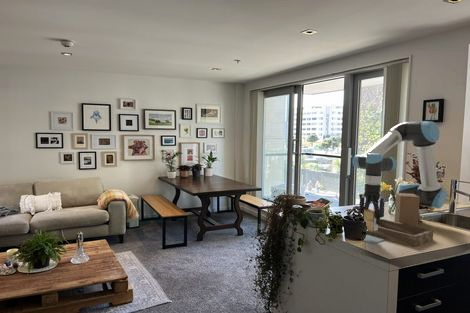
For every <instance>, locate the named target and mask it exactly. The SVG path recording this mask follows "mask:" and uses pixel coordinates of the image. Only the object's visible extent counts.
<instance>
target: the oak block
mask: <svg viewBox="0 0 470 313" xmlns="http://www.w3.org/2000/svg"><path fill="white" fill-rule="evenodd" d="M375 217H376V216H375V210H374V208H368V209H365V210H364V221H365V222H366V226H367V229H366V230H369V231H374V218H375ZM364 221H363V222H364Z"/></svg>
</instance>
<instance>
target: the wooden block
mask: <svg viewBox="0 0 470 313" xmlns="http://www.w3.org/2000/svg"><path fill="white" fill-rule="evenodd" d="M419 200H420V197H419V196H417V195H415V194H406V193H399V192H397V193H396V194H395V205H394V206H395V207H394V222H398V223H402V224H407V225H411V226H415V227H419V222H418V217H419V212H420V205H419Z"/></svg>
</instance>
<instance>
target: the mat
mask: <svg viewBox="0 0 470 313" xmlns="http://www.w3.org/2000/svg"><path fill="white" fill-rule="evenodd" d="M366 235H367V236H366V239H364V240H363V241H362V242H366V243H369V244H371V245H375V244H378V243H381V242H385V238H381V237H378V236H374V235H371V234H366Z"/></svg>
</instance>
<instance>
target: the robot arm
mask: <svg viewBox="0 0 470 313" xmlns="http://www.w3.org/2000/svg"><path fill="white" fill-rule="evenodd" d="M440 134H441V133H440V128H439V126H438V125H437V123H435V122H434V121H430V120H429V121H428V120H419V121H410V120H409V121H404V122H401V123H398V124H397V125H394V126H393V127H391V128H390V129H388V131H387V132H386V134H385V135H384V136H383V137H382V138H380V140H378V141H377V142H376V143H375V144H373V145H372V146H371V147H370V148H368V149H367V150H366V151H365V152H364V153H362V154H356V155H354V156H353V158H352V166H353V167H354V168H356V169H360V170H362V169H363V170H365V180H364V182H365V183H364V192H363V193H359V194H358V196H359V206H358V208H359V209H358V211H359V214H362V219H364V210H365V209H370V205H371V204H372V205H373V209H374V210H375V216H376V217H375V218H374V231H376V230H378V224H380V219H382V218H385V202H386V201H387V200H386V197H383V196H382V195H381V188H382V187H381V184H382V172H391V171H394V170H395V169H396V168H397V161H396V159H395V158H394V157H392V156H384V155H385V154H386V153H387V152H388V151H390V149H392V148H393V147H394V146H395V145H399V144H400V143H402V142H412V144H413V147H415V149H416V153H417V154H416V155H417V161H418V169H419V175H420V183H421V184H420V183H402V184H399V187H398V193H406V194H415V195H417V196H419V197H420V200H419V206H422V207H427V208H432V209H441V208H442V207H443V206H444V205H445V203H446V200H447V191H446V190H445V189H442V184H440V183H439V182H438V175H437V165H436V159H435V151H434V146H435V145H436V144H437V142H438V140H439V138H440ZM420 222H422V216H421V212H420V211H419V217H418V223H420Z"/></svg>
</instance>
